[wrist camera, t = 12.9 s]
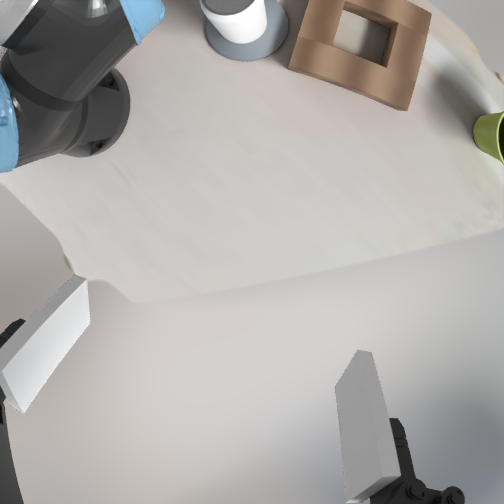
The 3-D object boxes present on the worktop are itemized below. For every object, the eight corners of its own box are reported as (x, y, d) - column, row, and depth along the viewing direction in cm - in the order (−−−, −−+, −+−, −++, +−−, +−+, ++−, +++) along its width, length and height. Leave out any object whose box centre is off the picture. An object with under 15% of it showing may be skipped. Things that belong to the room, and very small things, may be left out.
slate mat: (197, 53, 35) (195, 52, 34) (219, -13, 30) (218, -14, 30) (275, 69, 35) (275, 69, 35) (297, 2, 30) (297, 1, 30)
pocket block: (288, 69, 35) (288, 65, 32) (317, -23, 28) (319, -33, 25) (397, 110, 36) (407, 110, 33) (421, 19, 29) (431, 13, 26)
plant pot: (460, 103, 33) (493, 105, 26) (502, 105, 32) (535, 109, 24) (466, 163, 37) (498, 175, 29) (506, 160, 36) (538, 172, 28)
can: (218, 6, 31) (195, -28, 20) (266, 2, 30) (260, -35, 20) (219, 46, 34) (195, 22, 23) (268, 43, 33) (263, 16, 22)
